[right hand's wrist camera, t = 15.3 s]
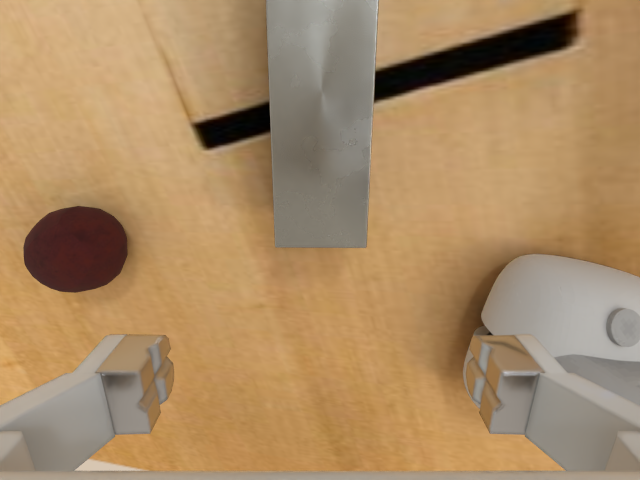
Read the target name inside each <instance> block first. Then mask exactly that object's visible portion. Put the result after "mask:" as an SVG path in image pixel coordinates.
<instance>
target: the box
mask: <svg viewBox="0 0 640 480" xmlns="http://www.w3.org/2000/svg"><path fill="white" fill-rule="evenodd" d="M378 6H379V0H266V21H267V48H268V74H269V100H270V127H271V153H272V180H273V206H274V232H275V247H294V248H366V247H367V227H368V207H369V187H370V167H371V146H372V126H373V106H374V86H375V66H376V46H377V26H378Z"/></svg>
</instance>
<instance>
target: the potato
mask: <svg viewBox="0 0 640 480" xmlns="http://www.w3.org/2000/svg"><path fill="white" fill-rule="evenodd" d="M126 257H127V237H126V234H125V232H124V229H123V227H122V225H121V224H120V223H119V222H118V221H117V220H116V218H115V217H114V216H112V215H110V214H108V213H106V212H105V211H103V210H101V209H96V208H90V207H82V206H77V207H71V208H65V209H60V210H57V211H54V212H51V213H49V214H47V215H46V216H45V217H44V218H42V219H41V220H40V221H39V222H38V223H37V224H36V225H35V226H34V227H33V228H32V230H31V231H30V233H29V234H28V235H27V237H26V239H25V243H24V262H25V265H26V267H27V269H28V271H29V272H30V273H31V275H32V276H33V277H34V278H35V279H37V280H38V281H39V282H40V283H42V284H43V285H45V286H47V287H49V288H51V289H55V290H58V291H62V292H81V291H86V290H91V289H96V288H98V287H101V286H104V285H107V284H108V283H109V282H110V281H112V280H113V279H114V278H115V277H116V276H117V275H119V274H120V272H121V270H122V267H123V265H124V262H125V260H126Z"/></svg>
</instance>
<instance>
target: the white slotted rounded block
mask: <svg viewBox="0 0 640 480" xmlns="http://www.w3.org/2000/svg"><path fill="white" fill-rule="evenodd" d="M481 318H482V321H483V323H484V325H485V326H481V327H478V328H477V329H476V330H475V332H474V334H473V336H488V335H518V334H531V335H533V336H535V337H536V338H537V339H538V341H539V342H540V343H541V344H542V345H543V346H544V347H545V348H546V349H547V351H548V352H549V353H550V354H551V355H552V356H553V357H554V358H555V359H556V361H557V362H558V363H559V364H560V365H561V366H562V367H563V368H564V369H565V371H566V372H567V373H575V374H577V375H579V376H581V377H583V378H585V379H587V380H589V381H591V382H593V383H595V384H597V385H599V386H601V387H603V388H605V389H607V390H609V391H611V392H613V393H615V394H617V395H619V396H621V397H623V398H625V399H627V400H629V401H631V402H633V403H635V404H637V405H639V406H640V277H638V276H635V275H633V274H630V273H627V272H624V271H621V270H618V269H614V268H611V267H607V266H603V265H600V264H596V263H592V262H588V261H583V260H579V259H573V258H568V257H562V256H555V255H546V254H529V255H523V256H520V257H518V258H515V259H514V260H512V261H511V262H510V263H509V264H507V265H506V267H505V268H504V269H503V270H502V271H501V273H500V274H499V275H498V277H497V279H496V281H495V283H494V285H493V287H492V289H491V291H490V293H489V296H488V298H487V300H486V303H485V305H484V308H483V311H482V313H481ZM469 348H470V345H469ZM469 348H468V351H467V355H466V358H465V362H464V367H463V379H464V384H465V387H466V390H467V392H468V394H469V396H470V398H471V399H472V397H471V395H470V393H469V390H468V387H467V382H466V368H467V363H468V362H469V360H470V359H471V358H472V357H473V355H472V353H471V351H470V349H469ZM472 401H473V402H474V403H475V404H476V406H477V407H478V408H479V409H480V404H478V403H477V402H476V401H474V400H473V399H472Z"/></svg>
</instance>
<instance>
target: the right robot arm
mask: <svg viewBox="0 0 640 480" xmlns="http://www.w3.org/2000/svg"><path fill="white" fill-rule="evenodd" d="M170 349H171V348H170V343H169V338H168V337H167V336H166V335H131V334H129V335H127V334H111V335H107V336H105V337H104V338H103V339H102V341H101V342H100V343H99V344H98V345H97V346H96V347H95V348H94V349H93V351H92V352H91V353H90V354H89V355H88V356H87V357H86V358H85V359H84V361H83V362H82V363H81V364H80V365H79V366H78V367H77V368H76V369H75V371H74V372H73V373H65V374H63V375H61V376H59V377H57V378H55V379H53V380H51V381H49V382H47V383H45V384H43V385H41V386H39V387H37V388H35V389H33V390H31V391H29V392H27V393H25V394H23V395H21V396H19V397H17V398H15V399H13V400H11V401H9V402H7V403H4V404H2V405H0V480H640V406H639V405H637V404H635V403H633V402H631V401H629V400H627V399H625V398H623V397H621V396H619V395H617V394H615V393H613V392H611V391H609V390H607V389H605V388H603V387H601V386H599V385H597V384H595V383H593V382H591V381H589V380H587V379H585V378H583V377H581V376H579V375H577V374H575V373H567V372H566V371H565V369H564V368H563V367H562V366H561V365H560V364H559V363H558V362H557V361H556V359H555V358H554V357H553V356H552V355H551V354H550V353H549V352H548V351H547V349H546V348H545V347H544V346H543V345H542V344H541V343H540V342H539V341H538V339H537V338H536V337H535V336H533V335H531V334H518V335H488V336H473V337H472V339H471V342H470V348H469V349H470V351H471V353H472V355H473V357H472V358H471V359H470V360H469V362H468V363H467V368H466V382H467V387H468V390H469V393H470V395H471V397H472V399H473V400H474V401H476V402H477V403H478V404H480V411H479V413H480V415H481V417H482V419H483V421H484V423H485V425H486V427H487V429H488V431H489V433H490V434H522V435H525V437H526V438H528V439H529V440H530V441H531V442H532V443H534V444H535V445H536V446H537V447H538V448H540V449H541V450H542V451H543V452H544V453H546V454H547V455H548V456H549V457H550V458H552V459H553V460H554V461H555V462H556V463H558V464H559V465H560V466H561V467H562V468H564V469H565V470H566V471H74V470H75V469H76V468H78V467H79V466H80V465H81V464H83V463H84V462H85V461H86V460H87V459H89V458H90V457H91V456H92V455H93V454H95V453H96V452H97V451H98V450H99V449H101V448H102V447H103V446H104V445H105V444H107V443H108V442H109V441H110V440H111V439H113V438H114V437H115V435H118V434H150V433H151V431H152V429H153V427H154V425H155V423H156V421H157V419H158V417H159V415H160V413H161V411H160V404H162V403H163V402H164V401H166V400H167V399H168V397H169V395H170V393H171V391H172V386H173V382H174V367H173V363H172V362H171V360H170V359H169V358H168V357H167V355H168V353H169V351H170Z"/></svg>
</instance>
